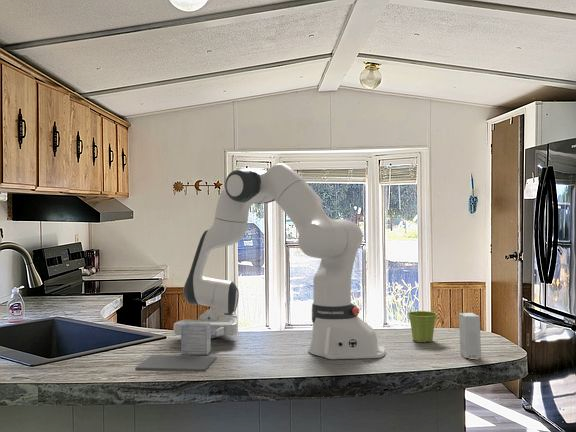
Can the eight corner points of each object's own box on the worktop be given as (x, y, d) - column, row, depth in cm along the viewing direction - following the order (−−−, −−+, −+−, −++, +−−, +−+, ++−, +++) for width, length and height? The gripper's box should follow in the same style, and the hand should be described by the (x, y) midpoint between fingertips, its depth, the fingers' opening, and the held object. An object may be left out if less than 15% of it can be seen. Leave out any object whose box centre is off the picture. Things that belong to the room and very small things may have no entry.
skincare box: (481, 359, 162) (481, 316, 161) (465, 359, 161) (465, 316, 161) (474, 354, 168) (473, 312, 168) (458, 354, 168) (458, 312, 167)
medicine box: (211, 351, 173) (210, 322, 173) (207, 355, 169) (207, 325, 169) (185, 351, 174) (184, 322, 174) (181, 354, 170) (180, 325, 170)
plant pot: (404, 342, 183) (403, 314, 182) (411, 336, 191) (411, 310, 191) (434, 345, 178) (433, 317, 178) (440, 339, 187) (440, 312, 187)
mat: (216, 358, 165) (216, 356, 165) (205, 371, 152) (205, 369, 152) (152, 357, 167) (152, 354, 167) (135, 369, 154) (135, 367, 154)
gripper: (180, 313, 191) (166, 322, 177) (241, 314, 188) (232, 323, 175) (180, 333, 191) (167, 342, 177) (241, 333, 188) (233, 344, 175)
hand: (200, 333), depth 176 cm, fingers open, 8 cm apart
